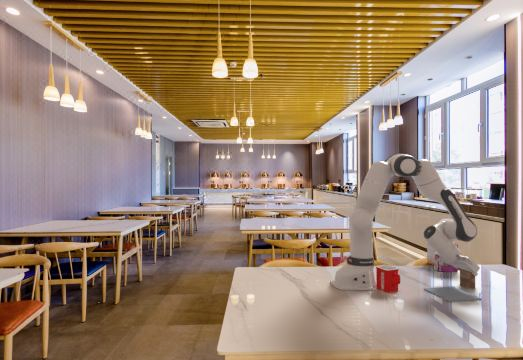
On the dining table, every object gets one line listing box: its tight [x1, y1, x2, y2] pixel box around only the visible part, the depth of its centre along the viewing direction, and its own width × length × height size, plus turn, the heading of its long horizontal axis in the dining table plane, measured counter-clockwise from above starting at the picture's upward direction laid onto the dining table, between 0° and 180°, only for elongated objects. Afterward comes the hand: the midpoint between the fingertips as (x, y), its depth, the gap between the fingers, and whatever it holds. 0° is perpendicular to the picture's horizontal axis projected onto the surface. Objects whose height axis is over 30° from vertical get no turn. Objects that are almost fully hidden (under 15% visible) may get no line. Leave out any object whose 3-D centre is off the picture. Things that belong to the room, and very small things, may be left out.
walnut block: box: [459, 268, 476, 289], centre depth 153 cm, size 4×5×9 cm
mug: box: [375, 264, 401, 294], centre depth 148 cm, size 12×8×11 cm
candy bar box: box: [433, 242, 459, 273], centre depth 181 cm, size 11×5×16 cm, turn 84°
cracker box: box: [426, 242, 435, 266], centre depth 193 cm, size 14×6×21 cm, turn 179°
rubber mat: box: [423, 285, 482, 303], centre depth 143 cm, size 16×16×1 cm
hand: (467, 272), depth 153 cm, fingers open, 8 cm apart
